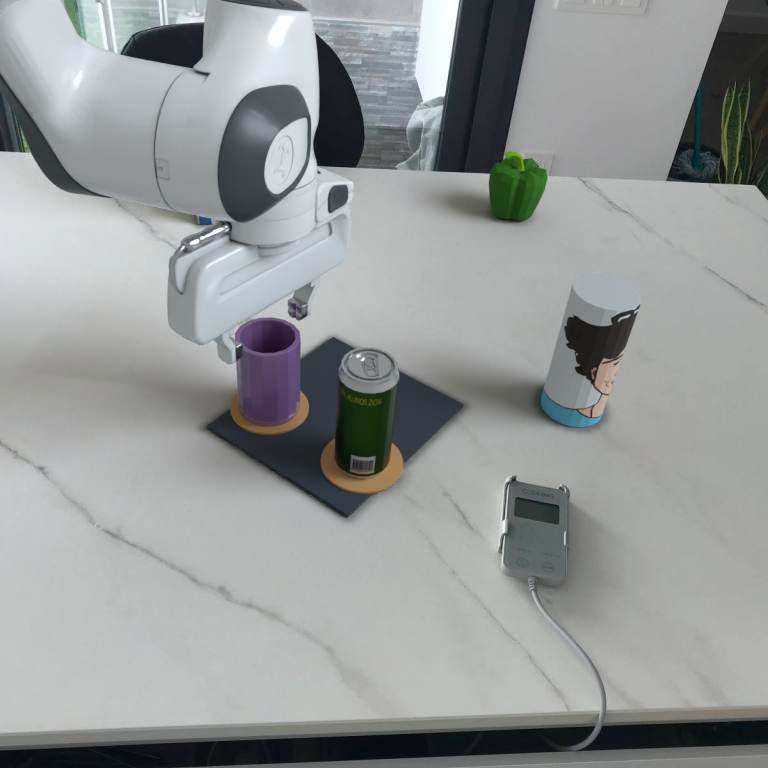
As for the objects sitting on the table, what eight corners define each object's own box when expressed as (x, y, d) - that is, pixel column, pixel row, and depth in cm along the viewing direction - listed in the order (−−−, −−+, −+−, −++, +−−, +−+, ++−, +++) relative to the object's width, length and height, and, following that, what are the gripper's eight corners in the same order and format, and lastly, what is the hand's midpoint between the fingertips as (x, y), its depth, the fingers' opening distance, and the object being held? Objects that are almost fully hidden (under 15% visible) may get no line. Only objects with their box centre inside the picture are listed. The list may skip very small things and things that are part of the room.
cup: (588, 436, 81) (628, 319, 71) (530, 409, 84) (561, 292, 74) (611, 403, 85) (652, 288, 76) (555, 378, 88) (588, 264, 78)
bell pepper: (538, 205, 121) (551, 144, 115) (538, 230, 115) (553, 166, 109) (484, 198, 122) (495, 136, 115) (482, 222, 115) (493, 158, 109)
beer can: (394, 479, 73) (406, 382, 66) (337, 484, 72) (343, 386, 65) (383, 440, 77) (393, 344, 70) (330, 444, 76) (334, 347, 69)
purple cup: (271, 435, 76) (269, 364, 71) (226, 408, 79) (220, 337, 73) (312, 404, 81) (313, 334, 75) (267, 379, 83) (266, 309, 77)
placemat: (356, 523, 70) (356, 518, 69) (199, 423, 78) (199, 418, 78) (471, 411, 83) (472, 406, 82) (326, 335, 91) (326, 331, 90)
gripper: (197, 261, 57) (209, 404, 65) (366, 178, 70) (357, 306, 79) (139, 232, 59) (158, 373, 68) (312, 157, 73) (310, 283, 82)
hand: (266, 336), depth 74 cm, fingers open, 8 cm apart
